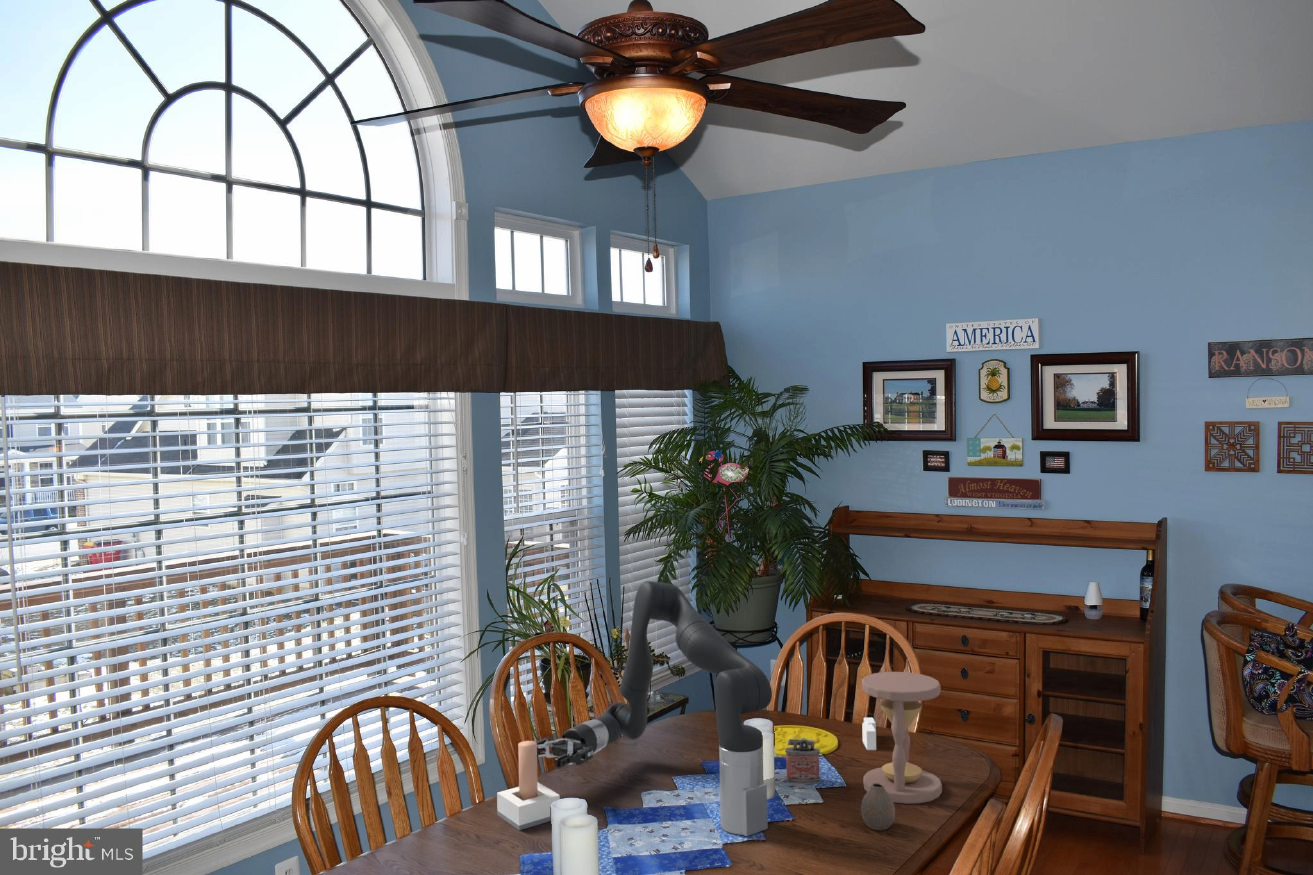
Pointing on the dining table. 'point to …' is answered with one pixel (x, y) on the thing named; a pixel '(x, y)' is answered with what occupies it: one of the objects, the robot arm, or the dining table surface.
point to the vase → (878, 808)
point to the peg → (527, 770)
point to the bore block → (525, 807)
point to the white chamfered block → (869, 733)
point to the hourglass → (902, 735)
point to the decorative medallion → (820, 737)
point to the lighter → (802, 762)
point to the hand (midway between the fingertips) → (541, 760)
